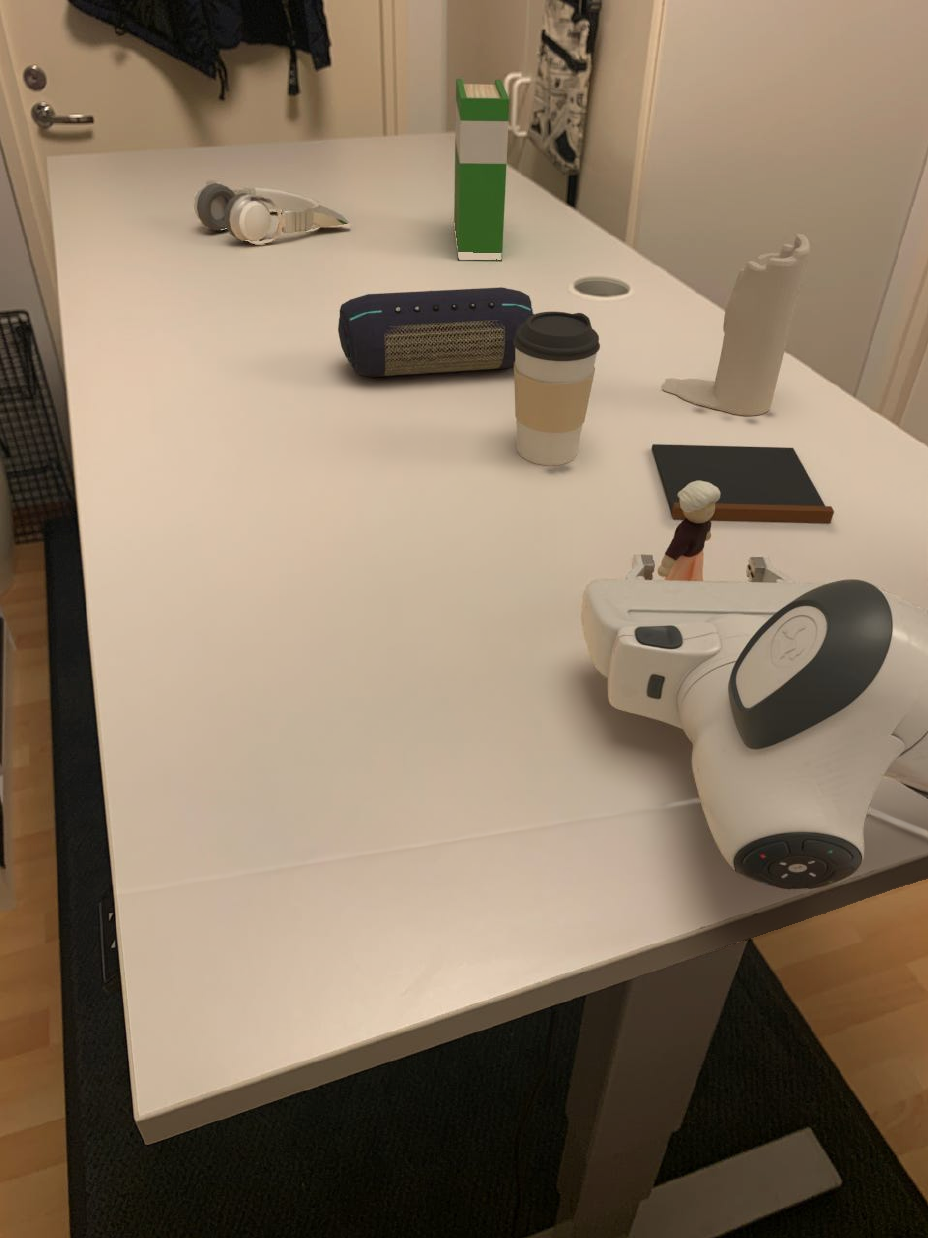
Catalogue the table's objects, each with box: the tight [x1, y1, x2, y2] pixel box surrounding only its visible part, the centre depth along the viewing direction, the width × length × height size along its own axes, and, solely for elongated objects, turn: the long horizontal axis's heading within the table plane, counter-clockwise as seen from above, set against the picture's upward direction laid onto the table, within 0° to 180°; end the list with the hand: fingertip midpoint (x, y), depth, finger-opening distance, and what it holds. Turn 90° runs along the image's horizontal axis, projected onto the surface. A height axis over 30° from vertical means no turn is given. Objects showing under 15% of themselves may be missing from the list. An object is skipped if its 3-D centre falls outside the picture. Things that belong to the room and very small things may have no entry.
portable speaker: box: [337, 287, 535, 378], centre depth 116 cm, size 25×10×10 cm, turn 102°
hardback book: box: [453, 78, 511, 262], centre depth 152 cm, size 18×7×24 cm, turn 3°
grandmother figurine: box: [657, 481, 720, 581], centre depth 77 cm, size 8×4×13 cm, turn 151°
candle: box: [661, 233, 811, 417], centre depth 108 cm, size 7×14×20 cm, turn 60°
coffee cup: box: [513, 311, 601, 466], centre depth 98 cm, size 9×9×15 cm
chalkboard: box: [651, 443, 835, 524], centre depth 97 cm, size 16×15×1 cm
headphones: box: [193, 179, 350, 246], centre depth 163 cm, size 22×8×22 cm
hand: (698, 562), depth 74 cm, fingers open, 8 cm apart
